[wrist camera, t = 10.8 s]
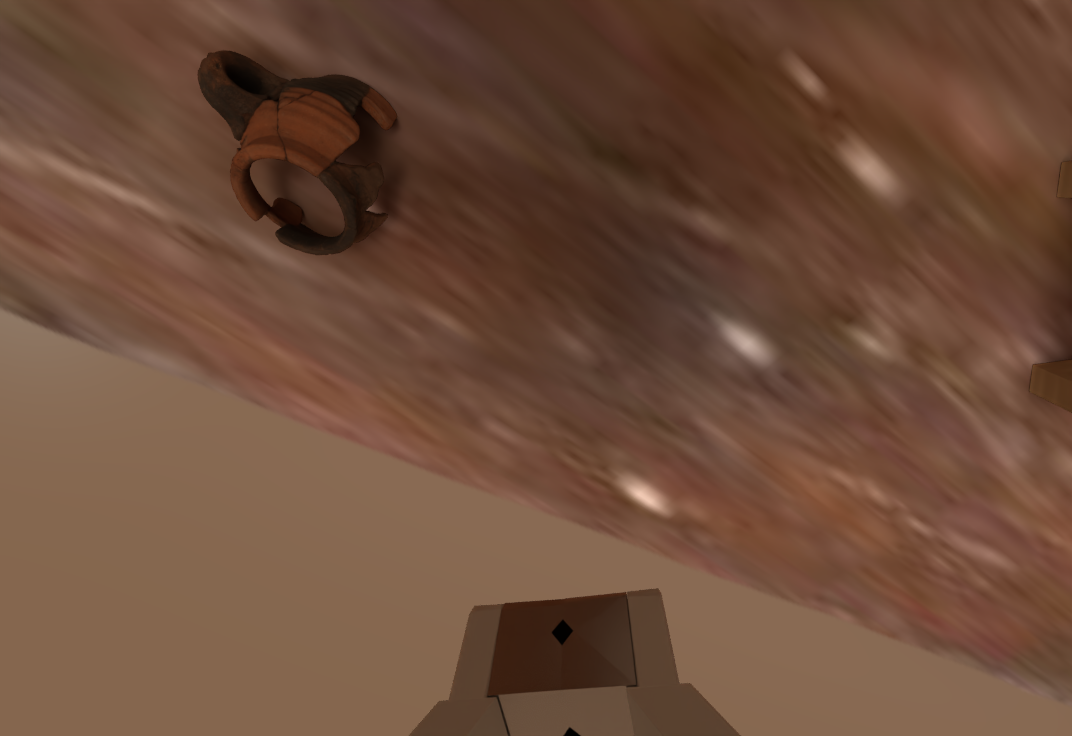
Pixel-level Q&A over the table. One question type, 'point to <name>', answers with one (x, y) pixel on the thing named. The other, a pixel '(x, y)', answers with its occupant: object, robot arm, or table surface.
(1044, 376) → the bridge
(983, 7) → the table surface
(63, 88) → the table surface
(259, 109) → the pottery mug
